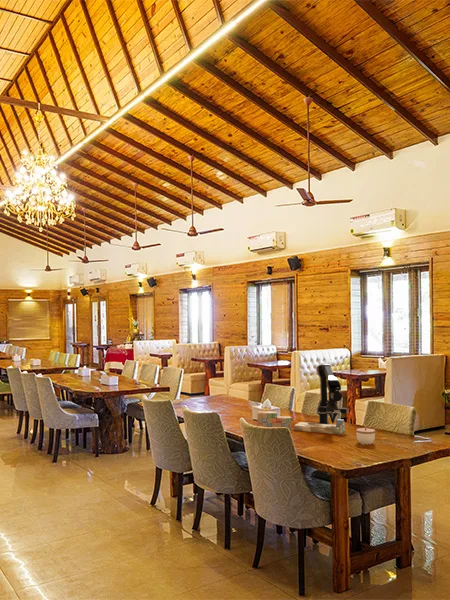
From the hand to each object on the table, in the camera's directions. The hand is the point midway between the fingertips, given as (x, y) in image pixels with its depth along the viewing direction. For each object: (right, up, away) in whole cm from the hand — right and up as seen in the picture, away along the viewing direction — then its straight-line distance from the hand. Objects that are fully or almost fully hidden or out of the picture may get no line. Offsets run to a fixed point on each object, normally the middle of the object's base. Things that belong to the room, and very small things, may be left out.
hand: (333, 423), depth 358 cm
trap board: (-9, -4, 0) cm, 10 cm away
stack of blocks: (-38, -5, -4) cm, 38 cm away
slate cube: (+4, -1, -1) cm, 5 cm away
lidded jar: (+12, -4, -36) cm, 38 cm away
